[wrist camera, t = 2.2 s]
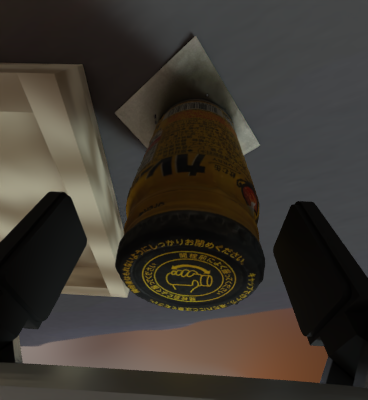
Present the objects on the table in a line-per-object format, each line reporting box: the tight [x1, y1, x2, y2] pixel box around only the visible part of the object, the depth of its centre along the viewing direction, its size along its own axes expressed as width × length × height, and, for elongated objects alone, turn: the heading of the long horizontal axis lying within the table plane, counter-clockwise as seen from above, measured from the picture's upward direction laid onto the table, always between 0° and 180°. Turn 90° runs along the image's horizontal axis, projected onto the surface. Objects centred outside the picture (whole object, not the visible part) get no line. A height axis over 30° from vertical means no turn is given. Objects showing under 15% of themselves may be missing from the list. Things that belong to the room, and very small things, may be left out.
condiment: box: [115, 36, 265, 311], centre depth 11 cm, size 7×8×12 cm
